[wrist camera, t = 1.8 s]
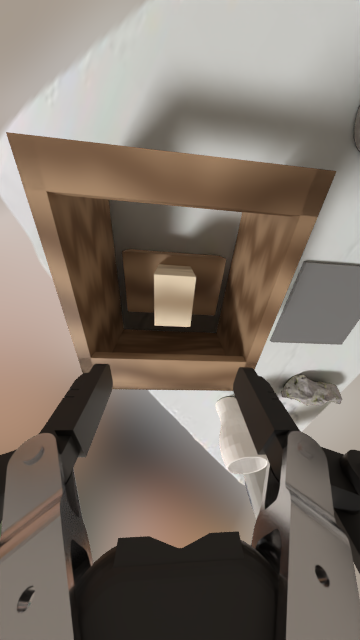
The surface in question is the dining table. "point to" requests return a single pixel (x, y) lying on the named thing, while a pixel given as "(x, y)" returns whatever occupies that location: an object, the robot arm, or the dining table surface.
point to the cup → (237, 440)
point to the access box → (166, 253)
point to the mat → (321, 305)
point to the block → (173, 295)
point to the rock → (310, 391)
